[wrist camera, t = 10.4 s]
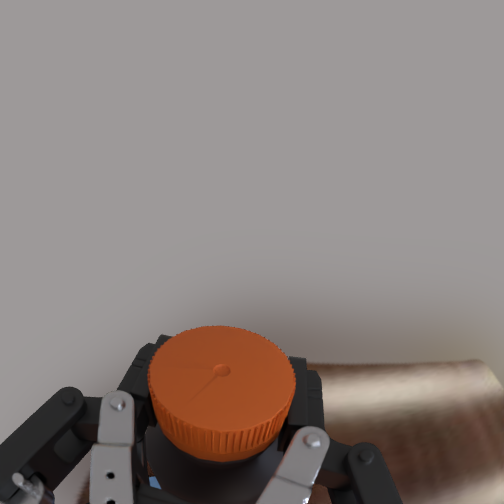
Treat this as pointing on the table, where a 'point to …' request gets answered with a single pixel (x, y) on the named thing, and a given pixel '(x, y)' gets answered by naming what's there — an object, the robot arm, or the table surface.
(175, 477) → the bottle
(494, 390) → the table surface
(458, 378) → the table surface
